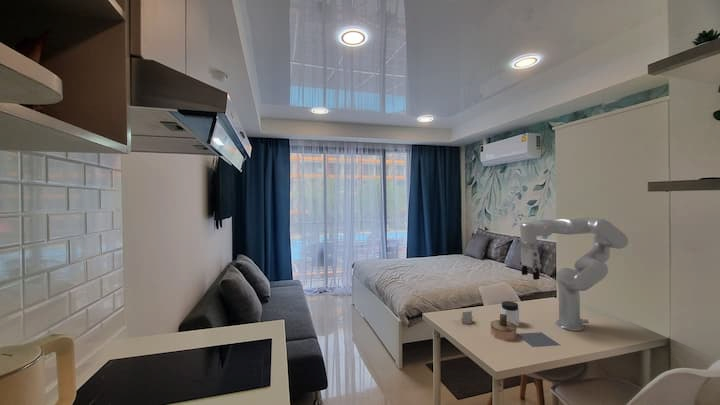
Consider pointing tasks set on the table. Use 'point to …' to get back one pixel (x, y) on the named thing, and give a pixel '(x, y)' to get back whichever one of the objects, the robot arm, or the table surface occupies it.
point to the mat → (537, 339)
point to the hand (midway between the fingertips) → (530, 277)
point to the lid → (503, 324)
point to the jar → (511, 312)
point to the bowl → (503, 334)
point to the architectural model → (466, 317)
